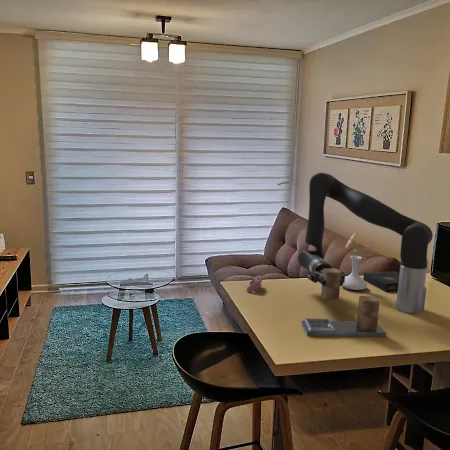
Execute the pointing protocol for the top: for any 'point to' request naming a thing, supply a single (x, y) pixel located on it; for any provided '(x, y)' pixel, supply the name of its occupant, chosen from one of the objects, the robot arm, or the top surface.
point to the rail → (338, 328)
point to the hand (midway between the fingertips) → (333, 283)
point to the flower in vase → (354, 270)
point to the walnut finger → (331, 284)
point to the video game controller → (255, 284)
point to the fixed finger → (368, 312)
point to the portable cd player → (383, 280)
